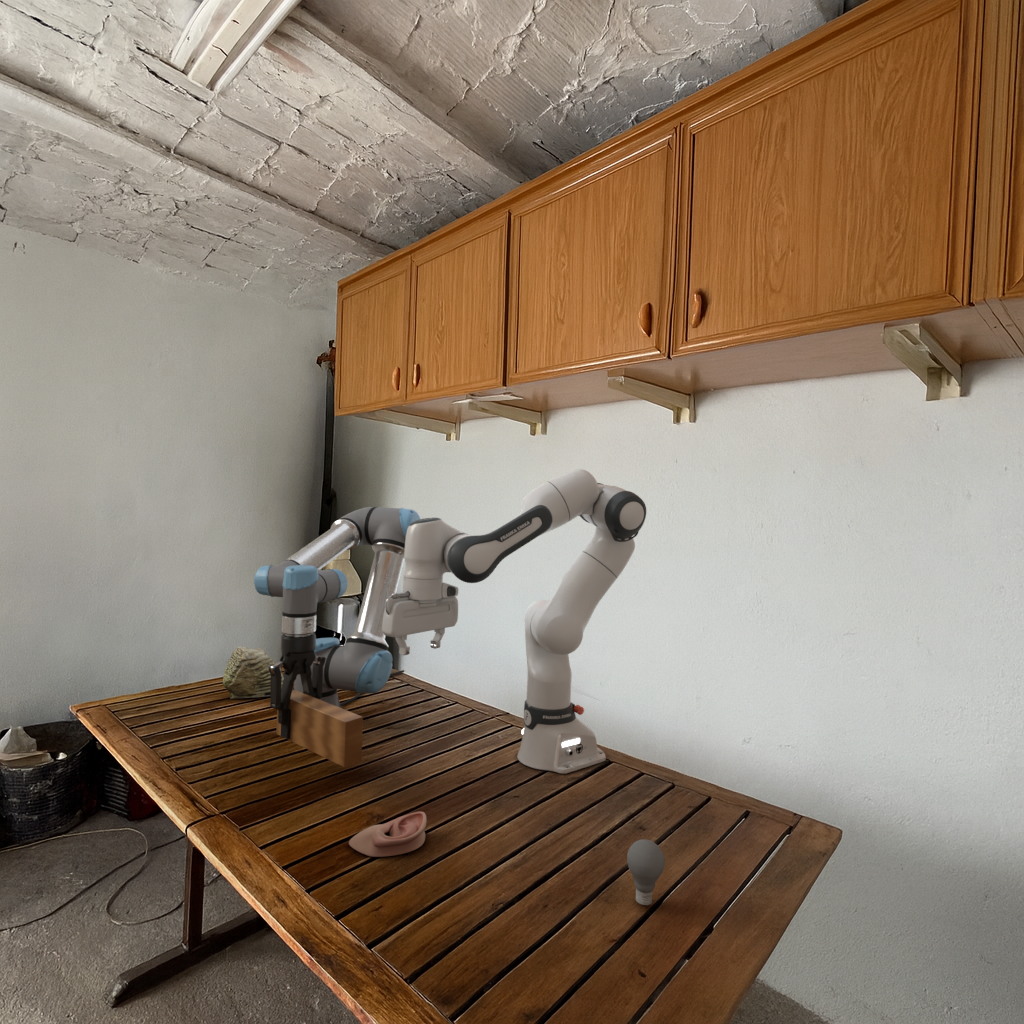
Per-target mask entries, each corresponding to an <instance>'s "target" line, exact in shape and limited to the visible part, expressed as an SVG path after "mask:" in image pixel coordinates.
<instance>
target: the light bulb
mask: <svg viewBox="0 0 1024 1024" xmlns="http://www.w3.org/2000/svg"><path fill="white" fill-rule="evenodd" d="M626 862H627V863H626V864H627V867H628V869H629V871H630V873H631V876H632V877H633V883H634V886H635V901H636V902H637V903H638V904H639V905H642V906H649V905H651V904H652V903H653V891H654V889H655V887H656V883H657V881H658V879H659V878H660V877H661V875H662V874H663V872H664V869H665V866H666V861H665V856H664V853H663V851H662V849H661V848H660V846H659V845H658V844H657V843H656V842H654V841H652V840H651V839H647V838H642V839H638V840H636V841H634V842H633V843H631V845H630V846H629V848H628V851H627V853H626Z"/></svg>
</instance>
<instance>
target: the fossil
mask: <svg viewBox="0 0 1024 1024" xmlns="http://www.w3.org/2000/svg"><path fill="white" fill-rule="evenodd" d="M271 664H272V665H275V664H276V663H275V662H274V660H273V659H272V658H271V657H270V656H269V655H268V654H267V653H266V652H265V650H264V649H263V648H260V647H258V648H251V647H247V646H246V647H245V646H238V647H237V648H236V649H235V650H233V651H232V653H231V656H230V657H229V659H228V660H227V663H226V666H225V668H224V671H223V675H222V676H223V677H222V685H223V687H224V688H225V690H226V691H228V693H229V698H230V699H250V698H264V697H270V689H271V674H270V671H269V668H268V667H269V665H271ZM281 677H282V681H281V688H282V684H283V680H284V677H283V672H281Z"/></svg>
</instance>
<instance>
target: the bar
mask: <svg viewBox="0 0 1024 1024" xmlns="http://www.w3.org/2000/svg"><path fill="white" fill-rule="evenodd" d="M288 709H290V710H291V729H290V739H287V741H290V742H292V743H294V744H296V745H298V746H300V747H302V748H304V749H306V750H308V751H311V752H312V753H314V754H317V755H319V756H321V757H323V758H325V759H327V760H329V761H330V762H333V763H335V764H336V765H339V766H341V767H343V768H346V767H349V766H351V765H354V764H357V763H360V762H362V757H363V755H362V754H363V731H364V730H363V729H364V716H362V715H359V714H357V713H355V712H352V711H349V710H347V709H344V708H342V707H341V708H339V707H337V706H334V705H332V704H329V703H327V702H324V701H322V700H319V699H317V698H314V697H312V696H309V695H307V694H304V693H302V692H299V691H297V690H294V689H292V693H291V697H290V702H289V706H288ZM275 727H276V728H275V729H276V731H275V734H276V735H277V736H280V737H281V724H279V722H278V710H277V709H276V726H275Z"/></svg>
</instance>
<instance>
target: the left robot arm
mask: <svg viewBox="0 0 1024 1024" xmlns="http://www.w3.org/2000/svg"><path fill="white" fill-rule="evenodd" d="M419 519H421V516H420V515H419V513H418V512H417V511H416V510H415V509H413V508H405V507H380V506H379V507H378V506H367V507H362V508H359V509H356V510H353V511H352V512H349V513H347V514H345V515H343V516H341V517H340V518H338V519H337V520H335V521H334V522H333V523H331V525H330V529H328V530H327V531H325V532H324V533H322V534H321V535H319V536H318V537H317V538H315V539H313V540H312V541H311V542H310V543H308V544H306V545H305V546H303V547H302V548H301V549H299V550H298V551H296V552H295V553H293V554H292V555H290V556H289V557H288V558H286V559H285V560H283V561H282V562H280V563H278V564H277V565H273V564H269V565H263V566H260V567H259V568H258V569H257V571H256V572H255V574H254V577H253V578H254V580H253V584H254V588H255V590H256V592H257V593H258V594H259V595H262V596H268V597H271V598H282V613H281V633H282V635H281V637H280V639H281V640H280V650H281V656H280V658H279V661H278V662H276V663H275V665H272V664H271V665H269V667H268V668H269V671H270V674H271V689H270V696H269V707H270V708H272V709H275V710H276V711H277V710H278V722H279V724H281V736H280V737H282V738H284V739H286V740H288V739H290V729H291V710H290V709H288V706H289V702H290V697H291V693H292V690H297V691H299V692H302V693H304V694H307V695H309V696H312V697H314V698H317V699H319V700H322V701H324V702H327V703H329V704H332V705H334V706H337V707H339V708H342V706H344V705H347V704H349V703H352V702H353V701H354V700H356V699H358V698H359V697H360V696H361V695H362V694H376V693H378V692H380V691H381V690H382V689H383V688H384V687H385V685H386V684H387V683H388V681H389V679H390V677H392V676H396V675H399V674H403V673H404V672H405V670H404V669H402V670H399V671H395V672H392V669H393V655H392V653H391V652H390V651H389V648H390V647H389V644H388V643H387V641H386V637H387V636H386V635H384V633H383V632H382V623H383V616H384V610H385V607H386V600H387V599H388V597H389V596H391V594H393V593H397V590H398V586H399V582H400V579H401V574H402V570H403V567H404V562H405V559H404V550H405V539H406V533H407V529H408V526H409V525H410V524H411V523H412V522H413V521H415V520H419ZM359 546H371V549H372V550H373V552H374V556H373V561H372V564H371V568H370V572H369V575H368V580H367V583H366V587H365V591H364V593H363V599H362V602H361V606H360V609H359V613H358V616H357V620H356V625H355V628H354V632H353V633H352V634H350V635H349V636H347V638H346V641H345V644H344V645H340V644H341V643H340V642H341V641H340V639H339V638H337V637H320V638H319V637H318V638H317V635H316V631H317V614H318V612H317V611H318V610H317V609H318V604H321V603H325V602H329V601H335V600H337V599H338V598H339V599H340V598H341V597H343V596H344V595H345V593H346V591H348V590H347V589H348V586H349V583H348V578H347V575H346V574H345V573H344V572H343V571H342V570H340V569H337V568H326V569H324V568H325V567H326V566H328V565H329V564H330V563H331V562H332V561H334V560H335V559H336V558H338V557H340V556H341V555H342V554H343V553H344V552H346V551H350V550H354V549H355V548H357V547H359ZM390 599H392V598H390ZM283 669H284V671H283ZM281 673H282V675H283V677H284V680H283V684H282V688H281V681H282V677H281ZM338 690H341V691H347V692H354V693H357V694H356V695H354V696H353V697H351V698H350V699H347V700H345V701H343V702H340V699H339V695H338Z"/></svg>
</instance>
